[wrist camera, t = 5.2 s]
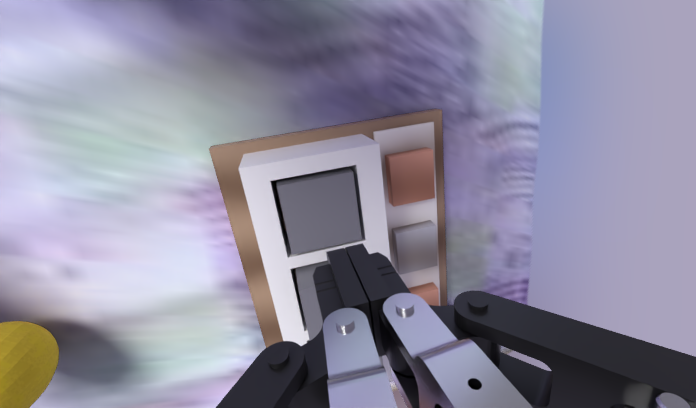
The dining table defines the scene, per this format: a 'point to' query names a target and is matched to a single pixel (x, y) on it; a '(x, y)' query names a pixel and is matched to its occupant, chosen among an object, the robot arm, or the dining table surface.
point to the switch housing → (268, 222)
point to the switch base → (399, 192)
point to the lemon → (25, 363)
